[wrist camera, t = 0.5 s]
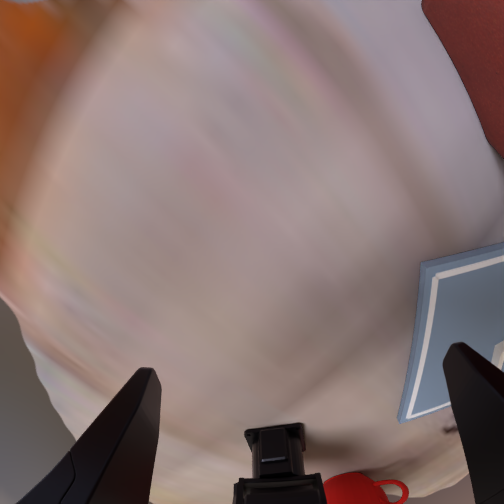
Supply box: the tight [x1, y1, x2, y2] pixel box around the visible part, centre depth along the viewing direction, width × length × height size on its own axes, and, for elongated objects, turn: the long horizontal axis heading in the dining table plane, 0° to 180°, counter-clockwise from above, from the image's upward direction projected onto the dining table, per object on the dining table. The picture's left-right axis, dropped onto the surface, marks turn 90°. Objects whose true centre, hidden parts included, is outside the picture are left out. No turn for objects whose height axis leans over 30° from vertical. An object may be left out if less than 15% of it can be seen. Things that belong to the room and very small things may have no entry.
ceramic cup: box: [323, 472, 409, 504], centre depth 35 cm, size 13×17×10 cm
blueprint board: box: [397, 242, 504, 424], centre depth 27 cm, size 22×22×1 cm
